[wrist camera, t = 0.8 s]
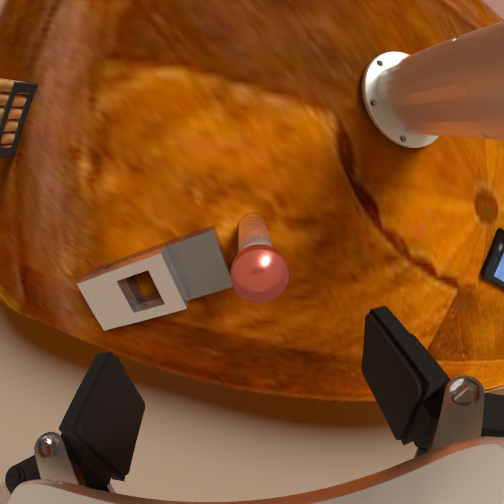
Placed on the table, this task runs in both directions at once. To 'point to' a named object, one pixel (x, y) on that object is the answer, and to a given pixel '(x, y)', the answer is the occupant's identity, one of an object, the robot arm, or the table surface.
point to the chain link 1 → (121, 297)
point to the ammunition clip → (13, 113)
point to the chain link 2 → (191, 264)
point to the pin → (257, 263)
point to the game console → (495, 261)
